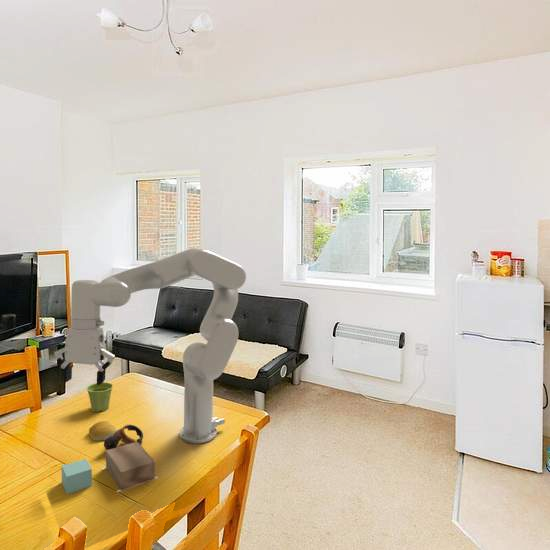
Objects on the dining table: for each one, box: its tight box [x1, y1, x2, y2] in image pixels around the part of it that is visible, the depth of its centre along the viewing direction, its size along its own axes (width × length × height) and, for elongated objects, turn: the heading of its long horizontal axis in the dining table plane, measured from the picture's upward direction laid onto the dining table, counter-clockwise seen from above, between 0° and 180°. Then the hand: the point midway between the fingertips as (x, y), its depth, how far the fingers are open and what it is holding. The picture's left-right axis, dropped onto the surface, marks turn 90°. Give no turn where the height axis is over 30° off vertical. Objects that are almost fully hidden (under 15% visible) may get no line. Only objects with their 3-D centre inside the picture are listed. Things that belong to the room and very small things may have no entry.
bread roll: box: [88, 420, 118, 441], centre depth 138 cm, size 8×9×4 cm
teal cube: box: [61, 458, 93, 495], centre depth 109 cm, size 6×6×6 cm
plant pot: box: [86, 381, 114, 413], centre depth 157 cm, size 9×9×9 cm
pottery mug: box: [103, 424, 144, 450], centre depth 128 cm, size 12×10×8 cm
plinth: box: [105, 441, 156, 491], centre depth 114 cm, size 9×13×5 cm
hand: (83, 382), depth 119 cm, fingers open, 9 cm apart
